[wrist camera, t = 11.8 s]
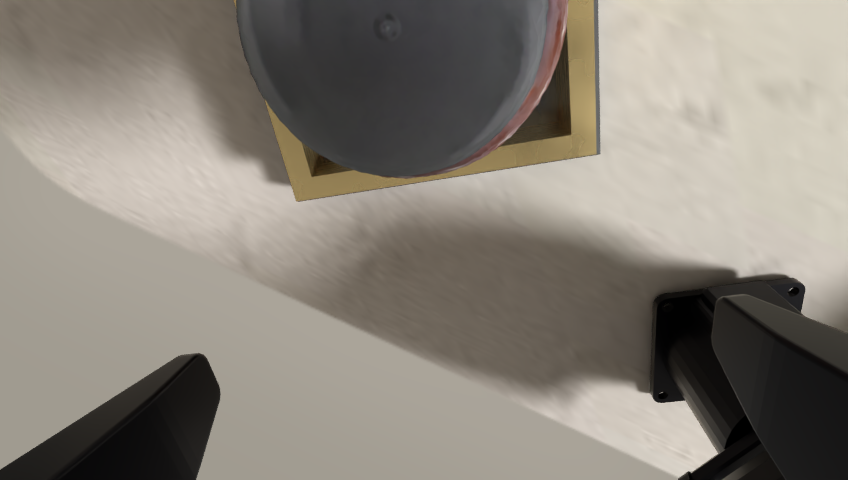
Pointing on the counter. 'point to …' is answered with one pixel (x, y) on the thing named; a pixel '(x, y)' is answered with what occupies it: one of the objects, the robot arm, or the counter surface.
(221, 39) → the counter surface
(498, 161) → the gold-rimmed square tray
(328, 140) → the supplement bottle
